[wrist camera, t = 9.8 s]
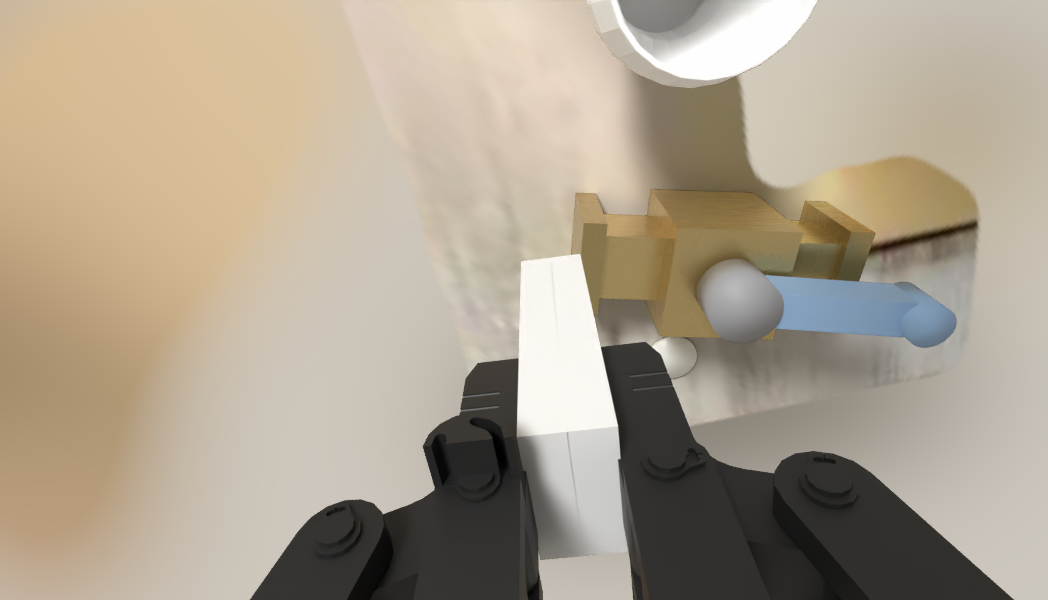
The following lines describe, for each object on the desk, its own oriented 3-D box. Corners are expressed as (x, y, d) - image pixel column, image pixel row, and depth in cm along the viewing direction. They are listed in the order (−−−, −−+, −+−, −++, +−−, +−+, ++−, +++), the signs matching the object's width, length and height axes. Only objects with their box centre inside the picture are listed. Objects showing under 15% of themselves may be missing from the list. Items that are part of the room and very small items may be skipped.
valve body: (568, 280, 47) (577, 333, 39) (576, 186, 43) (587, 225, 35) (800, 287, 47) (855, 342, 39) (827, 195, 43) (893, 235, 35)
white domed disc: (650, 335, 49) (651, 336, 49) (700, 336, 49) (701, 338, 49) (643, 376, 51) (644, 377, 51) (691, 377, 51) (692, 379, 51)
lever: (690, 316, 38) (705, 344, 34) (704, 256, 36) (721, 280, 32) (904, 330, 38) (939, 359, 35) (930, 272, 36) (970, 297, 33)
